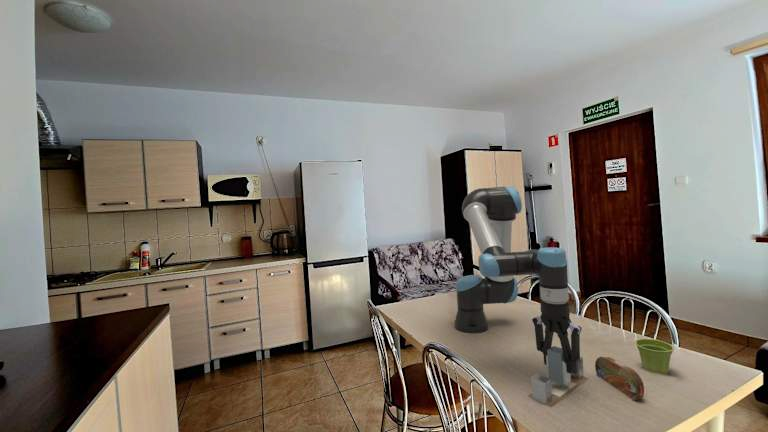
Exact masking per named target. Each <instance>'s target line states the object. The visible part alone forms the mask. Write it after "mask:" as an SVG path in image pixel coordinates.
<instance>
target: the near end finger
mask: <svg viewBox="0 0 768 432" xmlns="http://www.w3.org/2000/svg"><path fill="white" fill-rule="evenodd" d="M530 384H531V393H532V398H531V399H533V400H534V401H536V402H539V403H541V402H542V403H541V404H543V403H544V405H545V404H546V406H548V405H547V404H548V403H549V402H551V401H552V391H551V379H550V378H548V377H547V376H544V375H542V374H539V373H535V374H533V375H532V376H531V377H530Z"/></svg>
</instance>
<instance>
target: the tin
mask: <svg viewBox="0 0 768 432" xmlns="http://www.w3.org/2000/svg"><path fill="white" fill-rule="evenodd" d="M594 368H595V369H594V370H595V373H596V375H597V377H598V378H599V379H602V380H603V381H605V382H606V383H607V384H609V385H610V386H612V387H614V388H615V389H616V390H618V391H619V392H621V393H622V394H624V395H626V396H627V397H628V398H630V399H631V401H638V400H642V399H643V397H644V395H645V386H644V381H643V379H642V378H641V376H640V374H638V372H636V371H635V370H634V369H632V368H631V367H629V366H627V365H626V364H624V363H622V362H620V361H619V360H616V359H614V358H613V357H610V356H599V357H597V359H596V360H595V365H594Z"/></svg>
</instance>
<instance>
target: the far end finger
mask: <svg viewBox="0 0 768 432" xmlns="http://www.w3.org/2000/svg"><path fill="white" fill-rule="evenodd" d="M583 358H584V357H583V356H580V359H579V360H578V361H576V362H573V372H572V373H570V375H571V377H573V378H576V379H578V380H580V379H581V378H582V377H585V376H584V359H583Z"/></svg>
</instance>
